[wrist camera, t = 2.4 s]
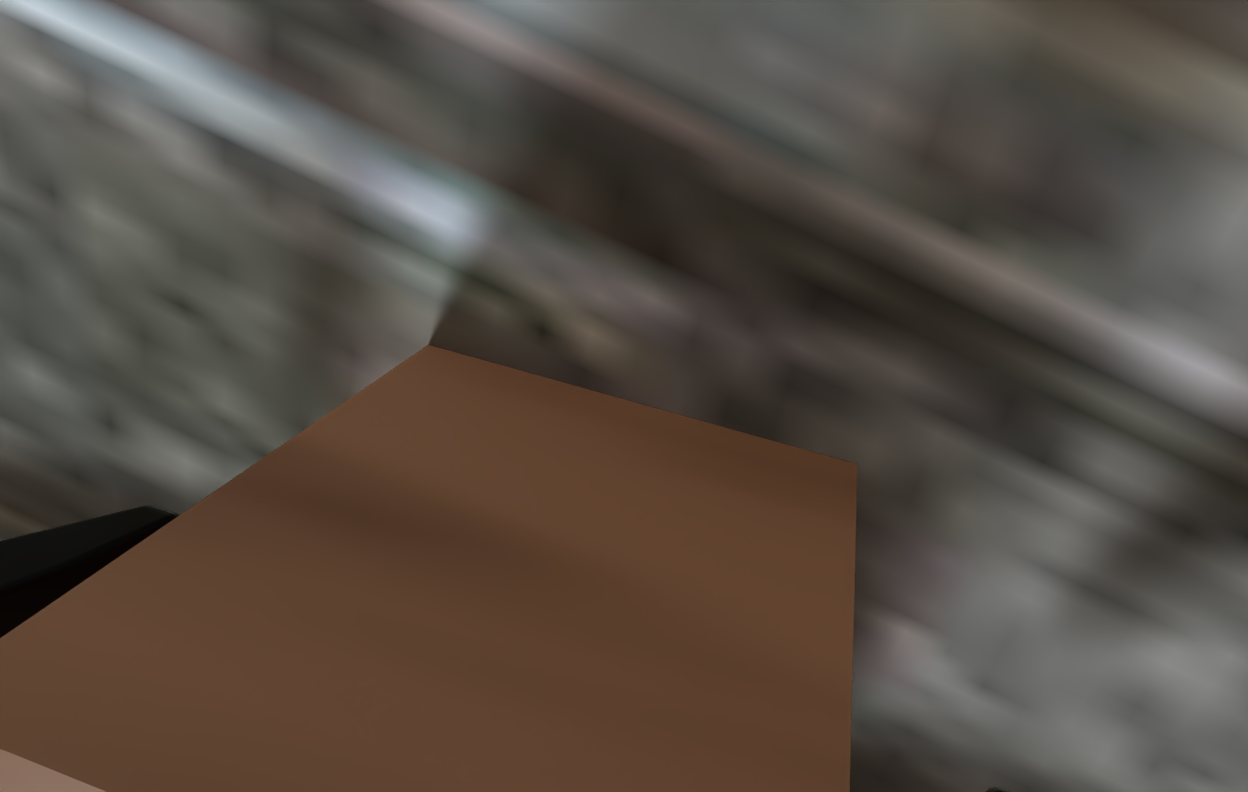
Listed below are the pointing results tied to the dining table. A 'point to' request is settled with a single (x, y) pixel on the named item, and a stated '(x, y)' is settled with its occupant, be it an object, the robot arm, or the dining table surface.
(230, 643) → the wooden mallet
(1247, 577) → the dining table surface
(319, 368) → the dining table surface
